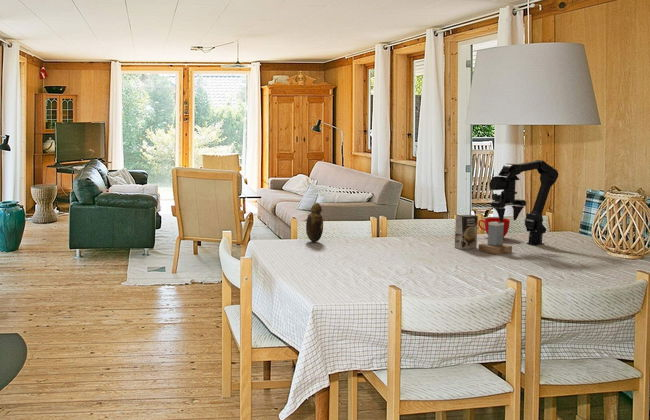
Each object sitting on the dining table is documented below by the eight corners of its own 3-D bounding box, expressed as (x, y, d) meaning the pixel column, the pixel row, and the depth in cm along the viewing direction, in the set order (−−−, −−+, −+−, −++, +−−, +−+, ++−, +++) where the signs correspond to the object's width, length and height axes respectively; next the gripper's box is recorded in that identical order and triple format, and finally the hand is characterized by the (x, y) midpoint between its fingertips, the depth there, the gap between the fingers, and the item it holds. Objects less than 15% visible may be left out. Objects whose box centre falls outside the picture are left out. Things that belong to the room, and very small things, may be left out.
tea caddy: (494, 243, 362) (495, 221, 361) (503, 245, 358) (504, 222, 357) (487, 245, 359) (488, 222, 358) (496, 246, 355) (497, 223, 354)
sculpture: (323, 244, 375) (324, 204, 372) (307, 244, 374) (307, 204, 371) (321, 239, 388) (321, 201, 385) (305, 239, 387) (305, 201, 384)
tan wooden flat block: (495, 248, 367) (495, 242, 366) (511, 252, 357) (512, 246, 357) (478, 250, 361) (478, 244, 360) (495, 254, 352) (495, 248, 351)
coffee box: (462, 249, 363) (463, 216, 361) (454, 247, 368) (455, 215, 366) (477, 248, 367) (478, 215, 365) (468, 246, 373) (470, 214, 370)
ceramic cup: (483, 234, 408) (483, 216, 406) (512, 237, 398) (513, 219, 397) (472, 237, 397) (473, 219, 396) (503, 241, 388) (503, 222, 386)
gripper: (510, 187, 379) (509, 217, 381) (483, 188, 370) (482, 220, 372) (527, 189, 370) (526, 220, 372) (500, 191, 360) (498, 223, 362)
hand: (508, 220), depth 370 cm, fingers open, 9 cm apart
